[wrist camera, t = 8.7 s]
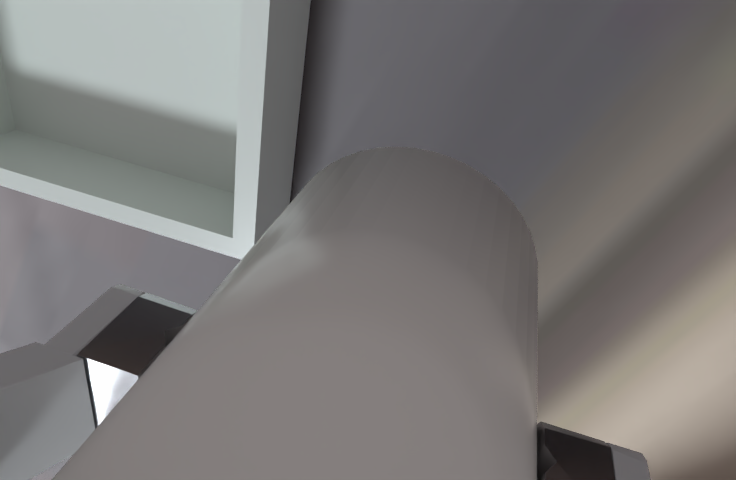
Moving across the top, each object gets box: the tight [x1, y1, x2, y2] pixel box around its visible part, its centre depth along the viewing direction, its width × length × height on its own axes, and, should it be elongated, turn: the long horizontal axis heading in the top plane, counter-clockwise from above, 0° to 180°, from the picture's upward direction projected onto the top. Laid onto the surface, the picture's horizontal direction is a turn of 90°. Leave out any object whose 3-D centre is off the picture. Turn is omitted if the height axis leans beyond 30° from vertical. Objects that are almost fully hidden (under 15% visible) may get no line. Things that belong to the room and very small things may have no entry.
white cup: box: [52, 147, 538, 480], centre depth 8 cm, size 6×6×9 cm
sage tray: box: [0, 0, 311, 260], centre depth 22 cm, size 16×16×4 cm
